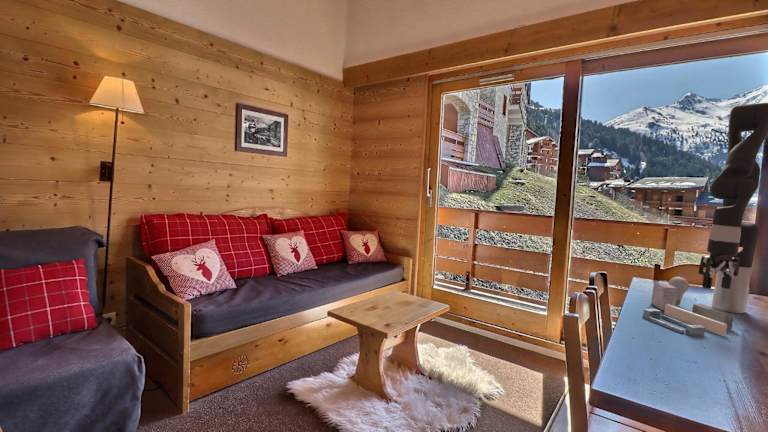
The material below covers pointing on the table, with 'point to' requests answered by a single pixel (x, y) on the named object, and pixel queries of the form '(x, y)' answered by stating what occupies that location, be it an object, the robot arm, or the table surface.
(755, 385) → the table surface
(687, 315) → the door edge
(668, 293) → the medicine box
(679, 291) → the lightbulb
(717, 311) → the lock bar
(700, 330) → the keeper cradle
